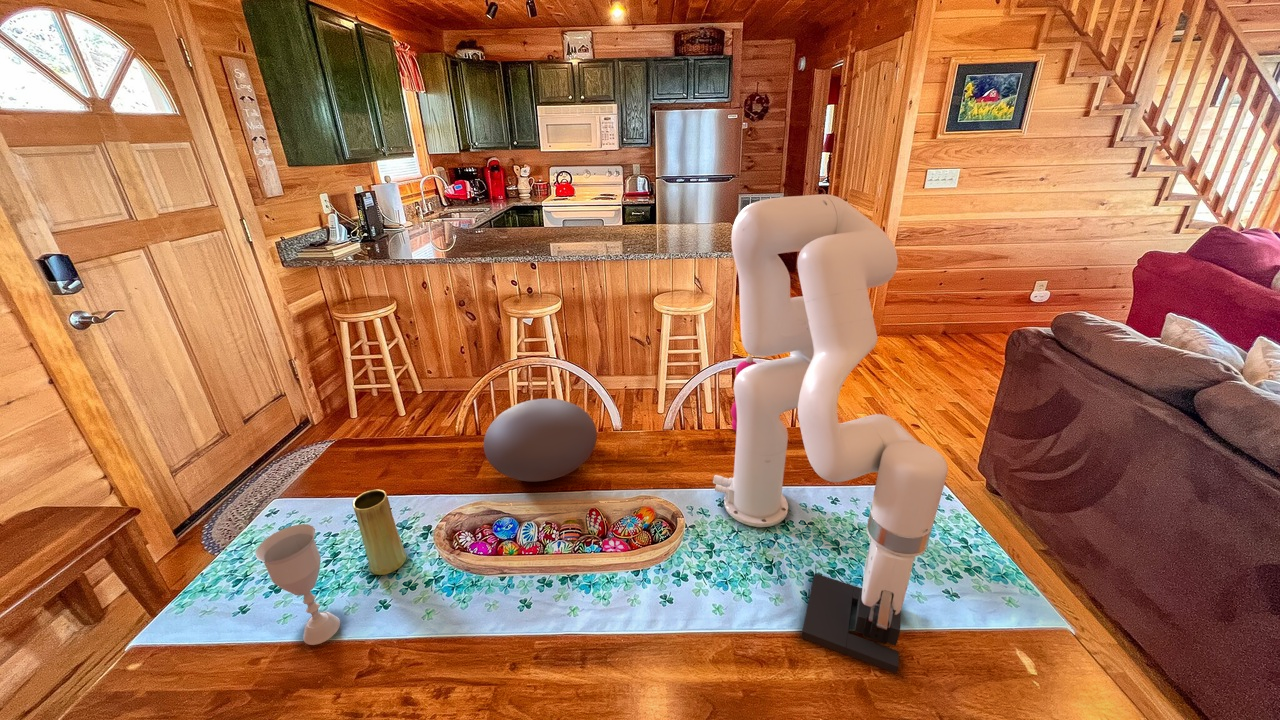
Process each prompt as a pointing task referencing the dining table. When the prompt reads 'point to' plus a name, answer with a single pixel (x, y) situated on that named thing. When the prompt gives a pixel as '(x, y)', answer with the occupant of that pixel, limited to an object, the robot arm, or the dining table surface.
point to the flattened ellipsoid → (540, 440)
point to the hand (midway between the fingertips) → (875, 620)
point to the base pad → (841, 624)
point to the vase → (379, 532)
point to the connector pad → (864, 610)
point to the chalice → (298, 575)
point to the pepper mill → (739, 368)
